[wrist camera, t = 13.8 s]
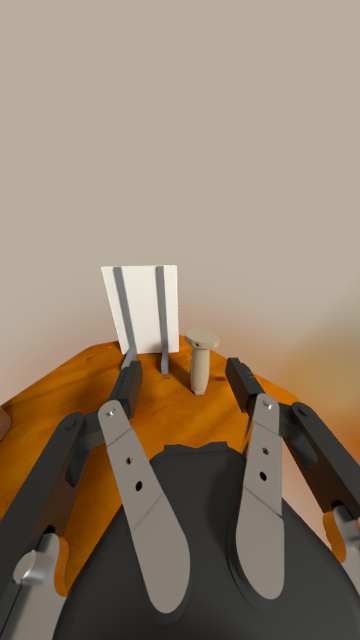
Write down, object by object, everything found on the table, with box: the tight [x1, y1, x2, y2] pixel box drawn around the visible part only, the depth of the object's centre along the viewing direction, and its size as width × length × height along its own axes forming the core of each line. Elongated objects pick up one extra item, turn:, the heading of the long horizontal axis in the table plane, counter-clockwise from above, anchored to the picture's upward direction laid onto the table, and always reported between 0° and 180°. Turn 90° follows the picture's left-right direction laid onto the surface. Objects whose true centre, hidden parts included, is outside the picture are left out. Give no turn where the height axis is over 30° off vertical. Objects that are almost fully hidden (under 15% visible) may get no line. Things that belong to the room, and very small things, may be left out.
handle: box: [185, 328, 220, 395], centre depth 29 cm, size 5×6×15 cm
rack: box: [101, 265, 179, 374], centre depth 35 cm, size 18×10×26 cm, turn 93°
